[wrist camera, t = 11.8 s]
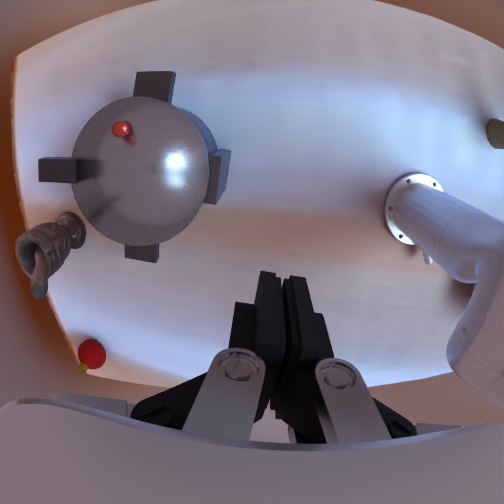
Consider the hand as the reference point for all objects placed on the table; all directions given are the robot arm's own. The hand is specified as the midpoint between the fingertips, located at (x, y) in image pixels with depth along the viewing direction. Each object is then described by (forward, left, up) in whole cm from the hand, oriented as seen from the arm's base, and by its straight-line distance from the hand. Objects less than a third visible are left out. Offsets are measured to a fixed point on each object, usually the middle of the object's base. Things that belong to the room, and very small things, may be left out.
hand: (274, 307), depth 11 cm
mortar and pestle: (+10, +35, -35) cm, 51 cm away
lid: (+12, +15, -25) cm, 31 cm away
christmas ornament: (-13, +53, -35) cm, 65 cm away
